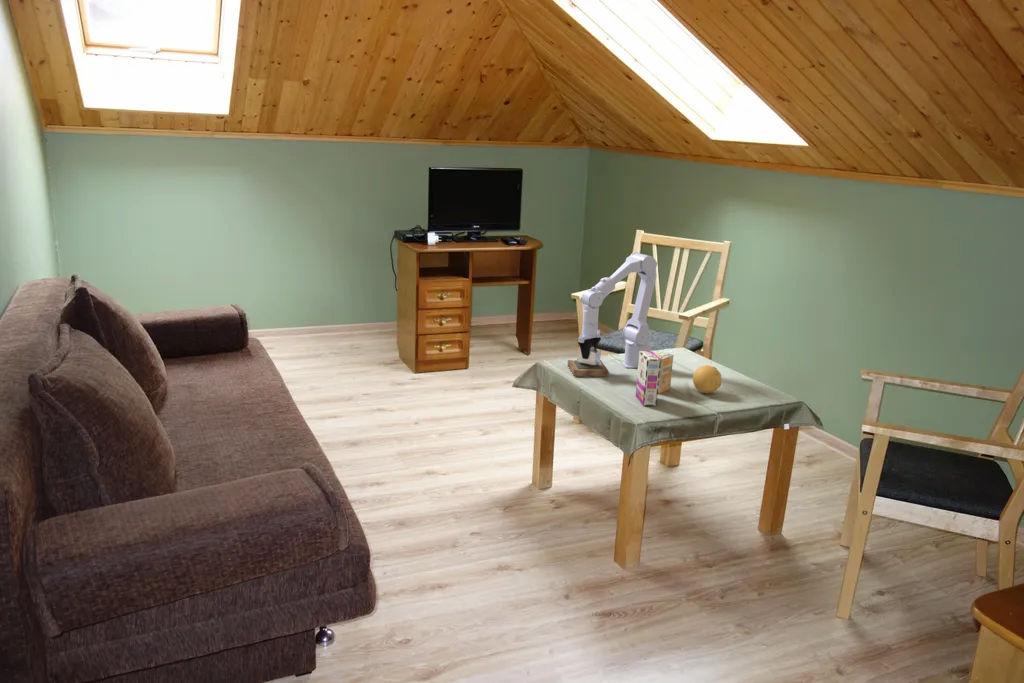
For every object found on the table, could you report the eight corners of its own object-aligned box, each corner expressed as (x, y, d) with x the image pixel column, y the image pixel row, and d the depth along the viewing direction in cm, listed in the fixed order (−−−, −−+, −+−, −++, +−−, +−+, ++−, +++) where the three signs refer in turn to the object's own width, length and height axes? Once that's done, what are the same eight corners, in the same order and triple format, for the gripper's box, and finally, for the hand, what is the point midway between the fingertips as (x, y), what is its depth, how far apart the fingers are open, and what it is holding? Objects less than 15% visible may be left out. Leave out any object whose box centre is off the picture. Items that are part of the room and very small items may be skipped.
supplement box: (660, 394, 280) (663, 359, 276) (648, 391, 282) (651, 356, 279) (671, 389, 286) (674, 354, 282) (658, 386, 289) (662, 351, 285)
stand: (600, 366, 310) (600, 359, 309) (607, 376, 297) (608, 369, 297) (567, 366, 308) (567, 359, 308) (573, 376, 296) (573, 369, 295)
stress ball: (690, 396, 282) (707, 385, 274) (684, 371, 286) (701, 359, 278) (712, 398, 286) (730, 387, 278) (706, 373, 290) (724, 361, 282)
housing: (580, 358, 306) (581, 343, 304) (602, 363, 301) (604, 347, 299) (575, 361, 302) (576, 345, 300) (597, 366, 297) (598, 350, 296)
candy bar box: (657, 406, 268) (661, 359, 263) (643, 406, 267) (646, 359, 263) (649, 395, 278) (652, 350, 274) (635, 395, 278) (638, 350, 273)
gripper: (591, 327, 290) (588, 363, 293) (608, 320, 302) (606, 354, 305) (574, 324, 293) (572, 360, 297) (591, 317, 305) (589, 351, 309)
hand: (588, 357), depth 301 cm, fingers closed on housing, 4 cm apart
